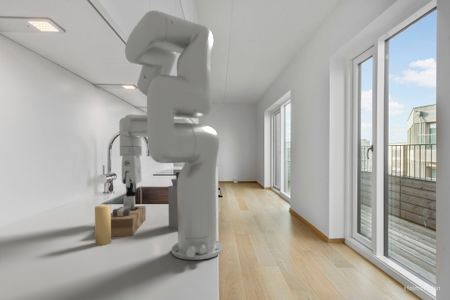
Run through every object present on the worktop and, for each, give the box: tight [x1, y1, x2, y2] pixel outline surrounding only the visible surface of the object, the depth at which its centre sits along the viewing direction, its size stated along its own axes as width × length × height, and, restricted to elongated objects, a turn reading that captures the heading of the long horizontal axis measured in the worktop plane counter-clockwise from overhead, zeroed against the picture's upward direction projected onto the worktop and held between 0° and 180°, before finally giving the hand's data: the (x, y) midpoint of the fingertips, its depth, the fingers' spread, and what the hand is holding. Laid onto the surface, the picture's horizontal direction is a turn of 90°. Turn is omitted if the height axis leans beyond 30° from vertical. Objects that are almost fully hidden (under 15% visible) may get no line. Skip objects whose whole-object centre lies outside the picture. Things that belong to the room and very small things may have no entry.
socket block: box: [111, 205, 147, 237], centre depth 93 cm, size 20×9×7 cm, turn 5°
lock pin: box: [117, 195, 136, 216], centre depth 93 cm, size 12×4×4 cm, turn 5°
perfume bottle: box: [167, 171, 180, 229], centre depth 94 cm, size 7×7×18 cm
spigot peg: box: [94, 204, 112, 246], centre depth 77 cm, size 4×4×10 cm
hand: (131, 202), depth 101 cm, fingers closed
